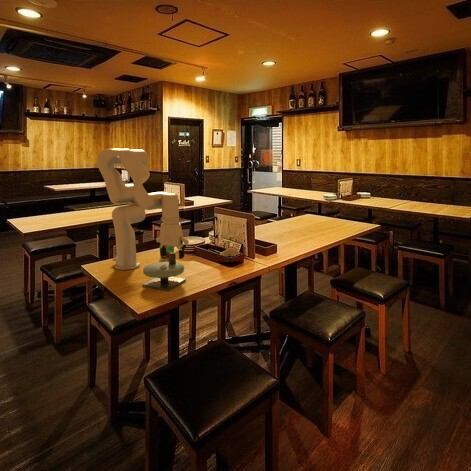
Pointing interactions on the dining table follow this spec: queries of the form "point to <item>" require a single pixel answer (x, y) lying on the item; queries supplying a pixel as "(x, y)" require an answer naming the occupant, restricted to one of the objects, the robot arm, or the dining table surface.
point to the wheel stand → (164, 283)
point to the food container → (167, 251)
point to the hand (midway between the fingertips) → (172, 257)
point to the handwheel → (164, 268)
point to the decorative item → (230, 252)
